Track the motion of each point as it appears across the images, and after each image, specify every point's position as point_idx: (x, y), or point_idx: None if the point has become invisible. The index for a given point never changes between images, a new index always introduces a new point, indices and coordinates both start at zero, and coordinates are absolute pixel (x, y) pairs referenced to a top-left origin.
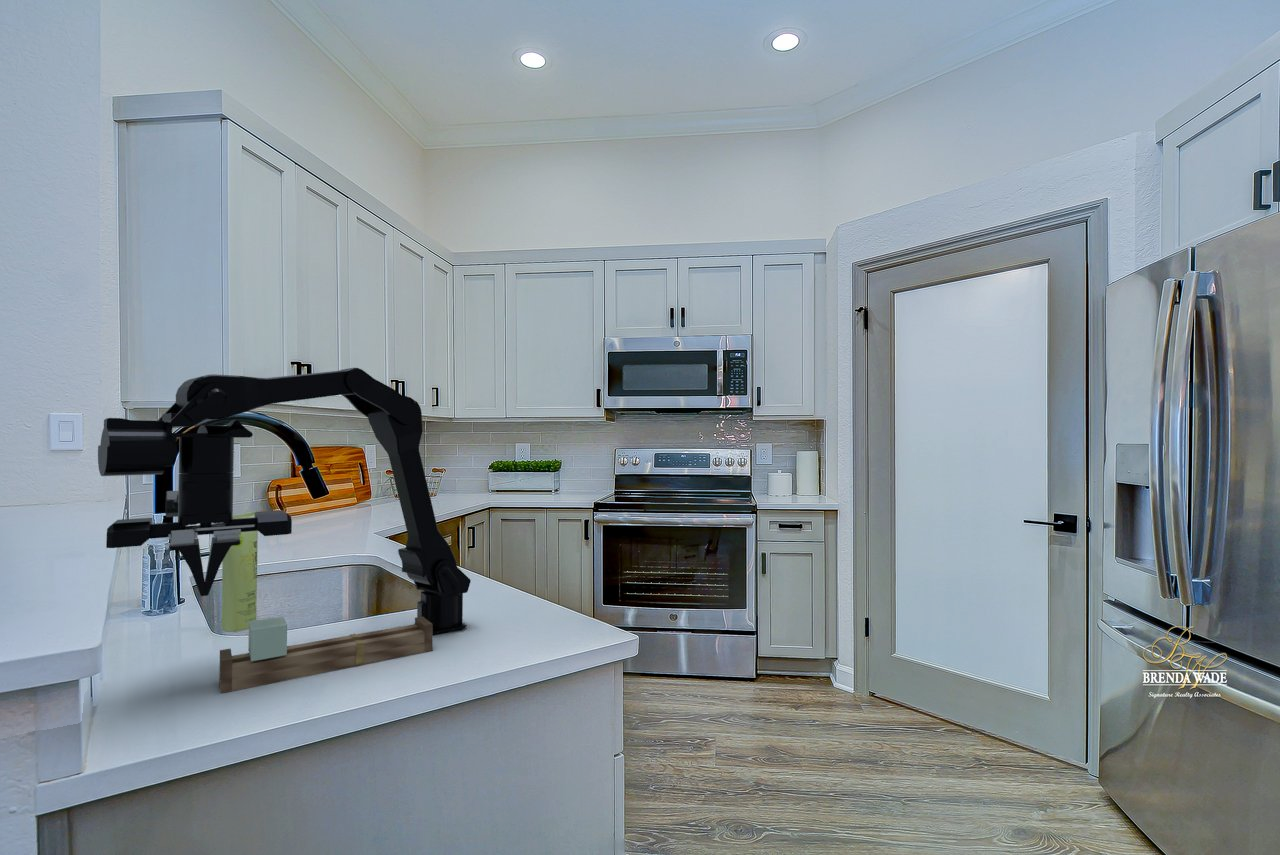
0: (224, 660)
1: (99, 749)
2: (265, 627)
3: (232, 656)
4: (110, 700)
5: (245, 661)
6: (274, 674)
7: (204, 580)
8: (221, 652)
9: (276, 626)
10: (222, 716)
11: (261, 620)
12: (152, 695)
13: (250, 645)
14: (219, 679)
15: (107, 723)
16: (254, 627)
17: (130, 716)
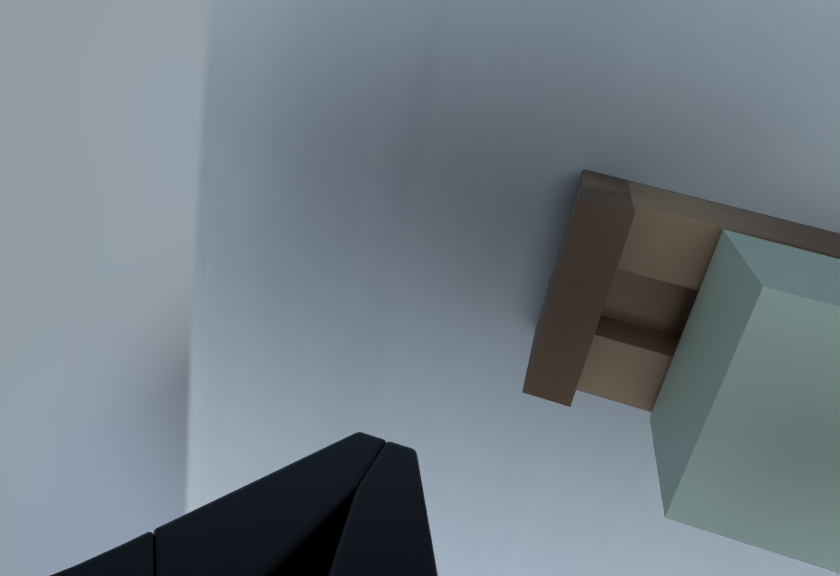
0: (538, 392)
1: (195, 475)
2: (751, 531)
3: (636, 221)
4: (223, 58)
5: (647, 355)
6: None
7: (346, 504)
8: (573, 247)
9: (810, 562)
10: (475, 532)
11: (829, 348)
12: (346, 131)
13: (675, 402)
14: (572, 208)
15: (212, 302)
16: (705, 477)
17: (267, 298)
